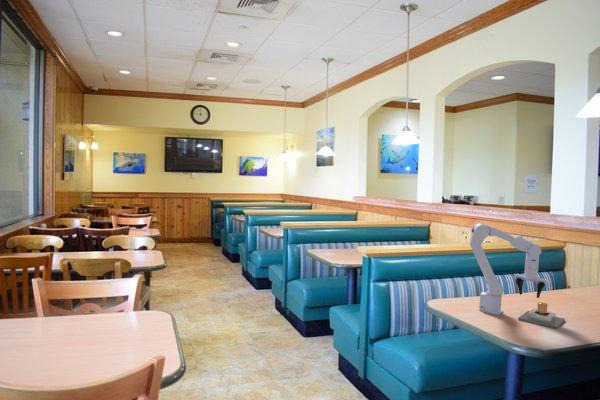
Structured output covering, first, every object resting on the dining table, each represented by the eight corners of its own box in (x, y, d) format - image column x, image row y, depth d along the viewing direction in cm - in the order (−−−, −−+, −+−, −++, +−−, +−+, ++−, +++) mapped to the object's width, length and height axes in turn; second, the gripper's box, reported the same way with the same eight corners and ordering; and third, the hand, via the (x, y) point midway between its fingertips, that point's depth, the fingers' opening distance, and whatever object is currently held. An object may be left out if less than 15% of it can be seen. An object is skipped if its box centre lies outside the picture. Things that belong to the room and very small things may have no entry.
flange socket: (518, 319, 213) (518, 312, 212) (528, 312, 225) (528, 305, 224) (556, 328, 202) (557, 321, 202) (564, 320, 214) (565, 313, 214)
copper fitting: (535, 318, 213) (536, 303, 213) (538, 316, 216) (539, 301, 215) (544, 320, 210) (545, 305, 210) (547, 318, 213) (548, 304, 212)
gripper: (513, 266, 221) (510, 294, 222) (546, 271, 212) (543, 300, 212) (517, 264, 226) (515, 291, 227) (549, 269, 217) (547, 297, 218)
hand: (529, 295), depth 220 cm, fingers open, 7 cm apart
